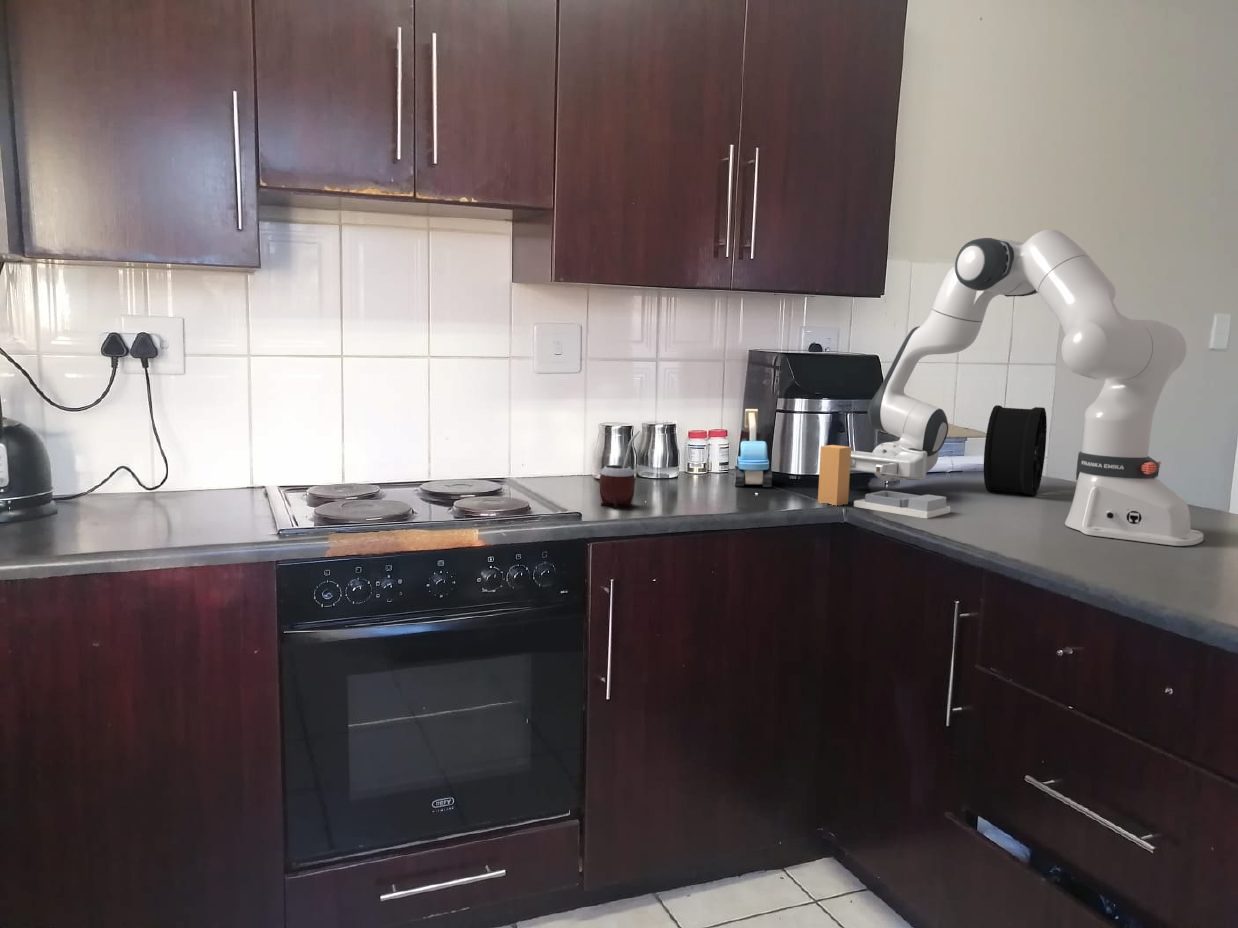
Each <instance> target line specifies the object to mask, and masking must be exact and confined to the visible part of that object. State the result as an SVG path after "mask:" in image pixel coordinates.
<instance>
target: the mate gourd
mask: <svg viewBox="0 0 1238 928" xmlns="http://www.w3.org/2000/svg"><path fill="white" fill-rule="evenodd" d="M640 432H641V431H640V430H639V429H638V430H637V431H636V432H635V433H634V435H632V437H631V439H630V440H629V441H628V444H627V451H626V454H625V458H624V462H623V465H620V464H612V465H611V464H610V465H605V466H604V467H603V468H602V469H601V472H600V475H599V480H598V483H599V484H598V485H599V495H600V499H601V503H600V506H601V507H612V509H613V510H618V508H632V507H633V504H632V501H633V499H634V498H633V497H634V496H635V495H634V494H635V485H636V484H635V482H636V481H635V473H634V470H633V469H632V467H631V466H628V465H627V464H628V460H629V456H630V451H631V449H632V446H633V442H634V441H635V438H636V437H637V436H638V435H639V433H640Z"/></svg>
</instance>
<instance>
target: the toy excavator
mask: <svg viewBox="0 0 1238 928" xmlns="http://www.w3.org/2000/svg"><path fill="white" fill-rule="evenodd" d="M758 419H759V409H758V408H745V410H744V429H749V440H743V441H741V442H740V446H739V447H740V449H739V450H740V456H739V455H738V457H737V465H735V466H734V474H733V478H734V487H735V488H736V487H737V488H738V487H740V488H742V487H744V486H745V485H762V487H763V488H771V487H772V484H773V481H772V480H773V471H772V467H771V466H770V460H769V458H768V445H767V442H766V441H764V440H757V429H758V421H759V420H758Z"/></svg>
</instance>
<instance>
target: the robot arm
mask: <svg viewBox="0 0 1238 928" xmlns="http://www.w3.org/2000/svg"><path fill="white" fill-rule="evenodd" d="M1036 294H1038V295H1039V297H1040V298H1041V299H1042V300H1043V301H1044V303H1045V304H1046V306H1047V307H1048V309H1050V311H1051V313H1053V315H1054V316H1055V317H1056V319H1057V321H1058V322H1059V324H1060V326H1061V328H1062V331H1063V334H1064V337H1063V340H1062V342H1061V343H1062V344H1061V358H1062V360H1063V363H1064V365H1065V366H1066V368H1067V369H1068V370H1070V371H1071V372H1072V373H1074V374H1076V375H1079V376H1082V377H1085V378H1089V379H1094V380H1100V381H1101V380H1105V381H1104V383H1103V386H1102V389H1101V390H1100V393H1099V395H1098V396H1097V398H1096V399H1095V400H1094V401H1093V402H1092V403H1091V404H1090V405H1089V406H1087V408H1086V410H1085V412H1084V417H1083V427H1082V439H1081V450H1080V451H1079V452H1078V453H1077V454H1078V455H1077V459H1076V467H1075V475H1076V477H1075V479H1076V480H1075V481H1076V486H1075V492H1074V495H1073V499H1072V503H1071V506H1070V509H1069V512H1068V515H1067V518H1066V520H1065V522H1064V525H1065V527H1068V528H1071V529H1074V530H1077V531H1079V532H1081V533H1083V534H1085V535H1088V536H1095V537H1101V538H1102V537H1103V538H1113V539H1118V540H1126V541H1127V540H1128V541H1134V542H1143V543H1150V544H1160V545H1166V546H1167V545H1168V546H1173V547H1174V546H1176V547H1185V546H1187V547H1188V546H1194V545H1198V544H1200V543H1202V542H1203V541H1204V533H1203V532H1202V531H1200V530H1196V529H1191V514H1190V512H1191V511H1190V508H1189V505H1188V503H1187V502H1186V501H1185V500H1184V499H1183V498H1181V497H1180V496H1179V495H1178V494H1176V493H1175V492H1174V491H1173V490H1172V489H1170V488H1169V487H1168V486H1167V485H1166V484H1164V483H1163V482H1162V481H1161V480H1160V479H1159V478H1158V477H1159V472H1160V468H1161V464H1162V462H1161V461H1157V460H1155V459H1153V458H1152V457H1150V455H1149V450H1150V449H1149V448H1150V441H1151V433H1152V425H1153V419H1154V414H1155V410H1156V408H1157V405H1158V403H1159V399H1160V396H1162V395H1161V394H1162V392H1163V390H1164V388H1165V386H1166V384H1167V382H1168V380H1169V379H1170V377H1171V376H1172V374H1173V373H1174V372H1175V371H1177V370H1178V368H1180V367H1181V366H1182V364H1183V362H1184V360H1185V358H1186V356H1187V343H1186V339H1185V337H1184V335H1183V333H1182V332H1181V331H1180V330H1178V329H1177V328H1175V327H1174V326H1171V325H1168V324H1166V323H1163V322H1160V321H1157V320H1154V319H1153V320H1152V319H1151V320H1150V319H1146V320H1145V319H1131V318H1128V317H1127V316H1125V315H1123V314H1122V313H1120V311H1119V309H1117V307H1116V305H1115V302H1114V299H1115V296H1116V288H1115V285H1114V283H1113V282H1112V281H1111V280H1110V279H1109V277H1108V276H1107V275H1106V274H1105V273H1104V272H1103V270H1102V269H1101V268H1100V267H1099V266H1098V264H1096V262H1095V261H1094V260H1093V259H1092V257H1090V255H1088V253H1087V252H1086V251H1085V250H1084V249H1083V248H1082V247H1081V246H1080V245H1079V244H1078V243H1076V242H1075V241H1074V240H1073V239H1071V238H1070V237H1069V236H1068V235H1067V234H1065V233H1063V232H1062V231H1060V230H1056V229H1051V228H1050V229H1043V230H1041V231H1038V232H1037V233H1034V234H1033V235H1032V236H1030V237H1029V238H1028V239H1027V240H1026V241H1025V242H1019V241H1016V240H1012V239H1002V238H992V237H982V238H977V239H972V240H970V241H968V242H966V243H965V244H964V245H963V246H962V247H961V248H960V249H959V251H958V253H957V255H956V258H955V262H954V266H952V267H951V268H950V269H949V270H948V271H947V274H946V276H945V277H944V279H943V281H942V283H941V284H940V287H939V289H938V292H937V294H936V296H935V299H934V302H933V303H932V308H931V311H930V313H929V315H928V317H927V318H926V319H925V321H924V322H923V323H922V324H921V325H920V326H919V325H918V326H915V327H913V328H912V329H911V330H910V331H909V333H908V334H907V336H905V338H904V341H903V342H902V344H901V345H900V347H899V350H898V351H897V353H896V354H895V358H894V359H893V361H892V363H891V365H890V368H889V369H888V371H887V374H886V375H885V378H884V379H883V381H882V383H881V385H880V387H879V388H878V390H877V391H876V393H875V394H874V396H873V397H872V399H871V401H870V402H869V405H868V407H867V416H868V420H869V422H870V425H871V427H872V428H873V429H875V430H878V431H879V432H884V433H887V434H891V435H892V436H895V437H896V438H897V437H898V438H899V440H896V441H888V442H882V443H880V444H878V445H877V446H876V447H875V448H874V449H873V450H872V452H867V451H860V450H851V460H850V471H858V472H864V473H871V474H874V475H875V476H876V477H877V478H878V479H880V480H882V481H884V482H895V481H903V480H906V481H907V480H908V481H911V480H912V481H923V480H926V477H927V473H928V472H929V471H931V470H932V469H933V468H934V467H935V466H936V464H937V463H938V460H939V451H941V449H942V447H943V445H944V443H945V442H946V439H947V436H948V433H949V422H948V417H947V414H946V413H945V411H944V410H943V409H942V408H939V407H937V406H935V405H932V404H930V403H928V402H924V401H922V400H919V399H916V398H914V397H911V396H909V395H908V394H907V395H906V393H905V391H904V389H905V387H906V385H907V383H908V381H909V380H910V377H911V376H912V374H913V372H914V369H915V368H916V366H917V364H918V362H919V361H920V360H922V358H924V357H926V356H929V355H949V354H955V353H959V352H962V351H964V350H966V349H967V348H969V347H970V346H971V345H973V344H974V342H976V341H975V340H976V339H977V337H978V335H979V332H980V331H981V328H982V324H983V321H984V318H985V316H986V312H987V309H988V306H989V304H990V303H991V301H992V300H993V299H994V298H996V297H997V296H999V295H1002V296H1005V297H1007V298H1009V297H1027V296H1031V295H1032V296H1033V295H1036Z"/></svg>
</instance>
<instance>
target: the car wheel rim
mask: <svg viewBox="0 0 1238 928" xmlns="http://www.w3.org/2000/svg"><path fill="white" fill-rule="evenodd" d="M1046 411H1047V410H1046V408H1045V407H1040V406H1035V407H1032V408H1019V407H1018V408H1015V407H1014V408H1013V407H1003V406H1002V405H998V404H997V405H994V406H993V408H992V410H991V412H990V415H989V419H988V423H987V428H986V434H985V441H984V442H985V443H984V450H983V451H984V452H983V453H984V454H983V481H984V486H985V490H986V491H988V492H989V491H994V490H996V491H997V490H998V491H999V490H1000V491H1009V492H1020V493H1023V494H1025V495H1026V496H1036V495H1038V492H1039V489H1040V486H1041V481H1042V476H1043V470H1044V464H1045V457H1046V446H1047V432H1048V431H1047V428H1048V427H1047V426H1048V425H1047V424H1048V423H1047V412H1046Z"/></svg>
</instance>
